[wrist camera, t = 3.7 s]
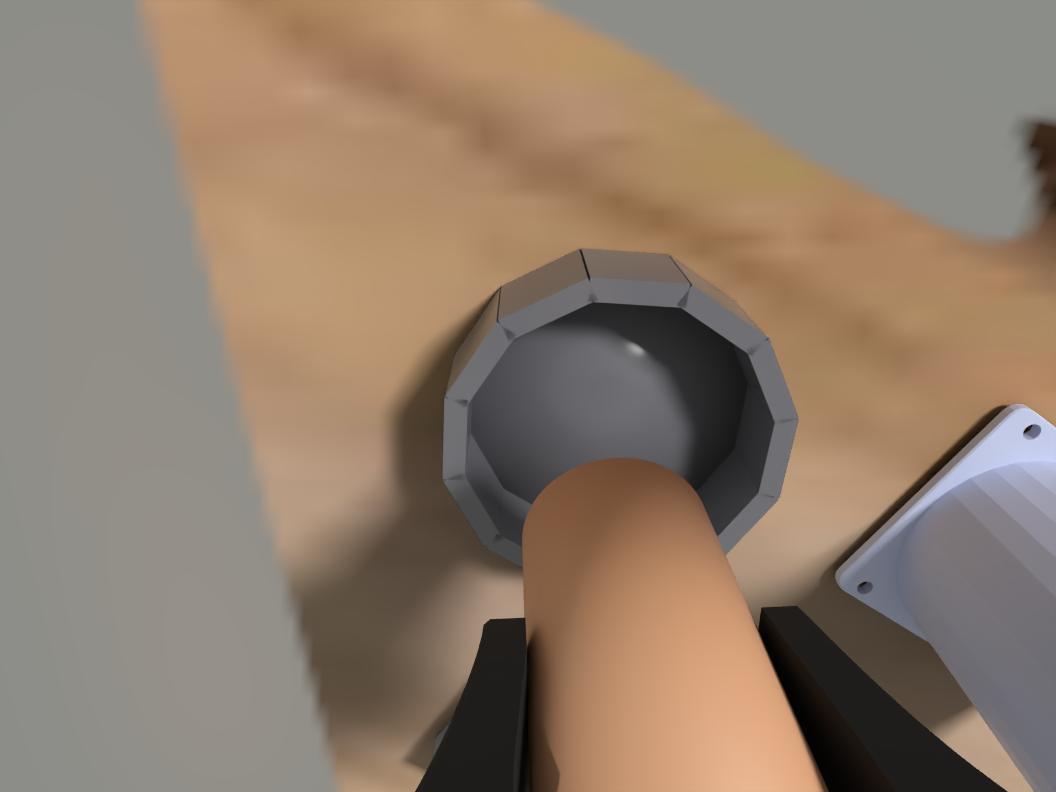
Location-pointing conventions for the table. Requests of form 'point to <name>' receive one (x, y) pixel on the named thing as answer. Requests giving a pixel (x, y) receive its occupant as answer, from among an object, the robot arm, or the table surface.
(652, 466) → the dowel
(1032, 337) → the table surface
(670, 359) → the grey round bowl
